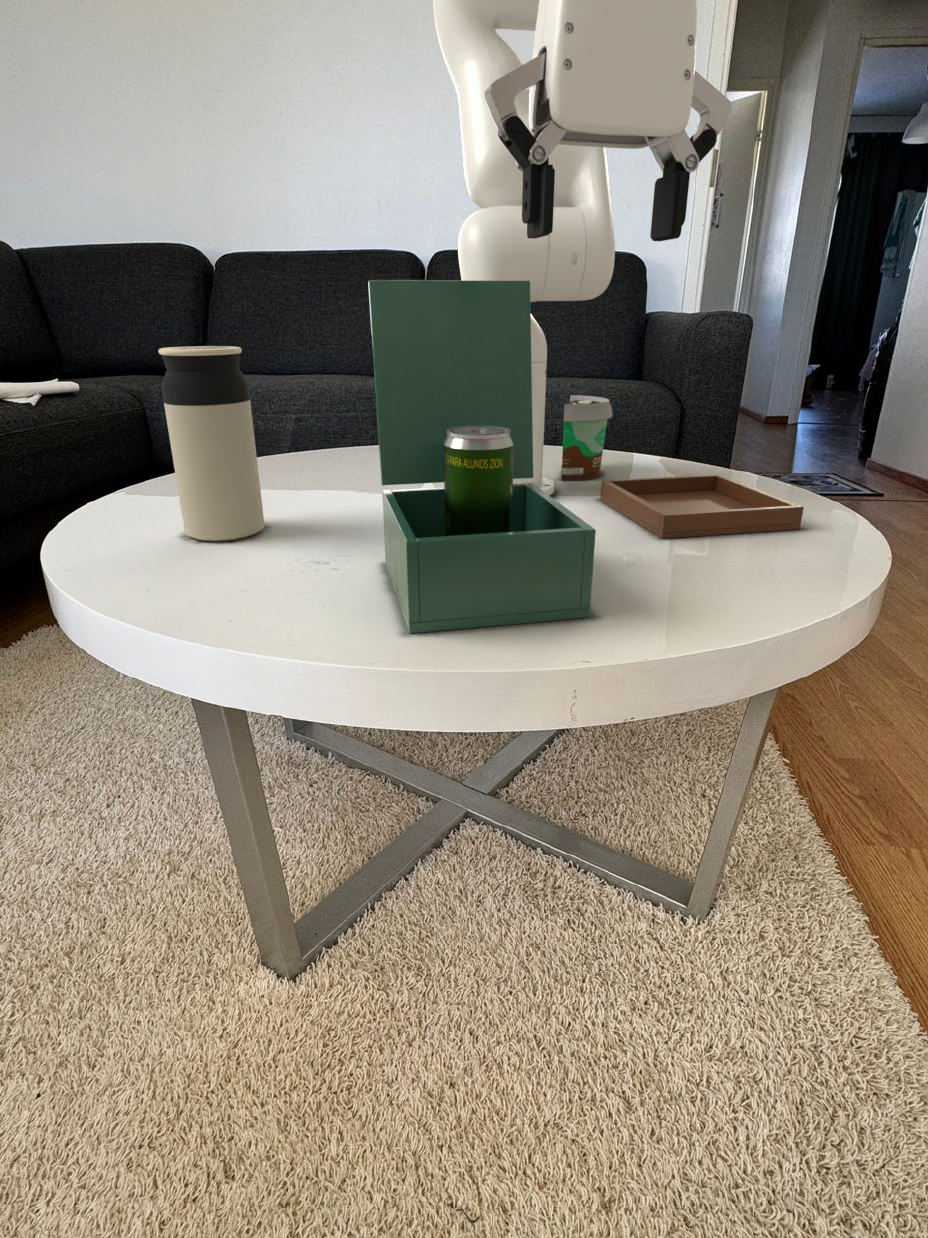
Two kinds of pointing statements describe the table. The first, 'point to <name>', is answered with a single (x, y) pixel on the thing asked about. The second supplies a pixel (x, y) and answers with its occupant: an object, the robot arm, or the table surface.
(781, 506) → the tray
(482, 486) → the beer can
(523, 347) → the lid
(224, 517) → the travel mug
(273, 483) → the table surface
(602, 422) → the food container
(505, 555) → the green box
